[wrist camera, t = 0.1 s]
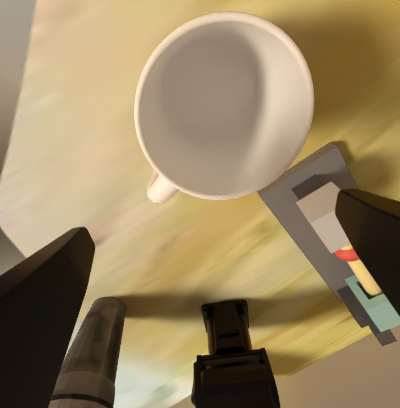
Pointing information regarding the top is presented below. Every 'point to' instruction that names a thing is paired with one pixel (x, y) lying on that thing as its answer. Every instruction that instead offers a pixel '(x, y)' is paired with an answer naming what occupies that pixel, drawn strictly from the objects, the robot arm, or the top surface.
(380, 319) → the sleeve
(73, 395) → the beverage cup
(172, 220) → the top surface
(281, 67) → the mug
